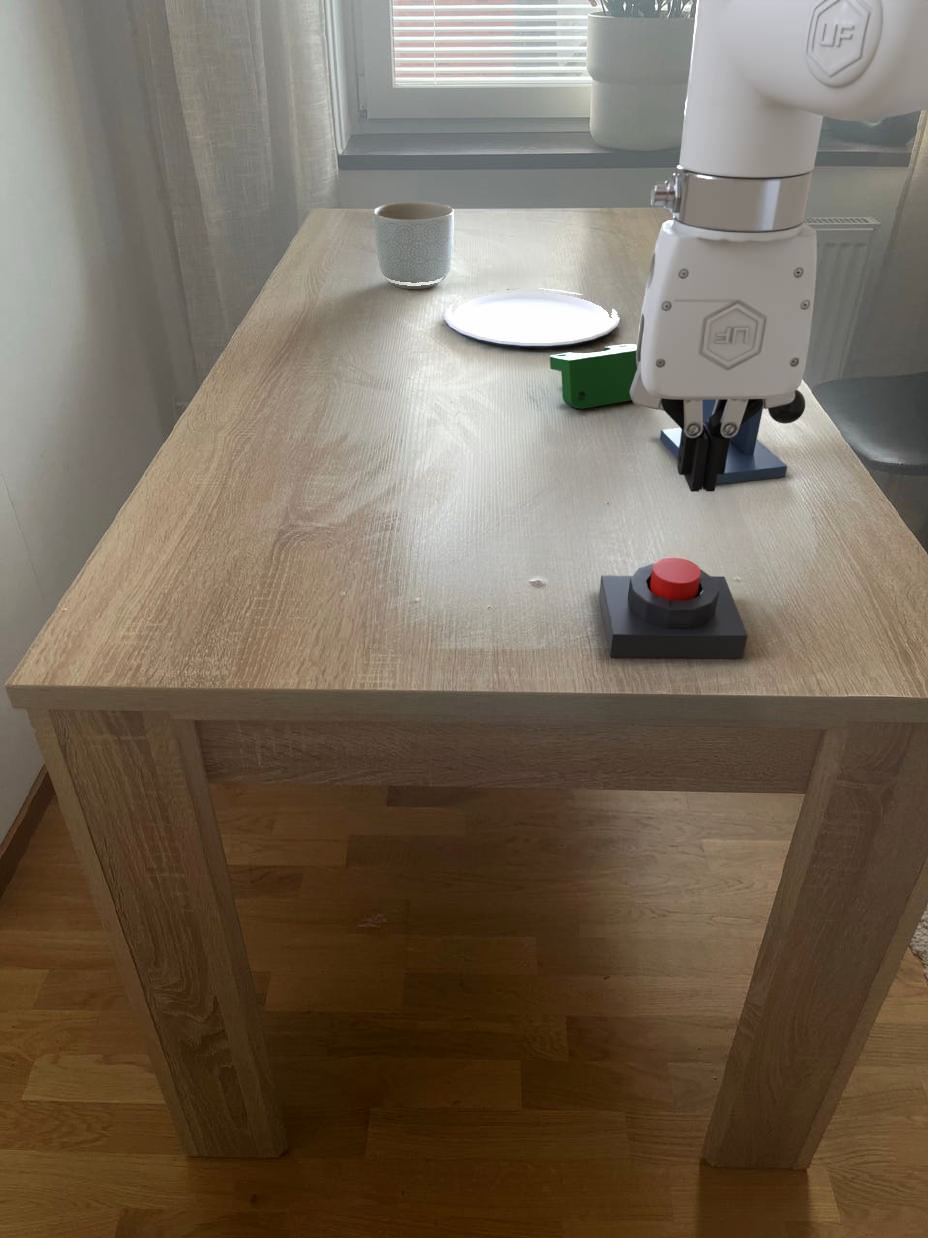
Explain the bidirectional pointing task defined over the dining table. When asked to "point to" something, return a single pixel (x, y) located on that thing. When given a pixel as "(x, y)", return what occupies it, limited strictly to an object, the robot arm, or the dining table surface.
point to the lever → (789, 410)
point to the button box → (670, 619)
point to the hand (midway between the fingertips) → (698, 482)
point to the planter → (414, 241)
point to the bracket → (737, 451)
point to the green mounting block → (596, 375)
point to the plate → (531, 319)
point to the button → (675, 579)
